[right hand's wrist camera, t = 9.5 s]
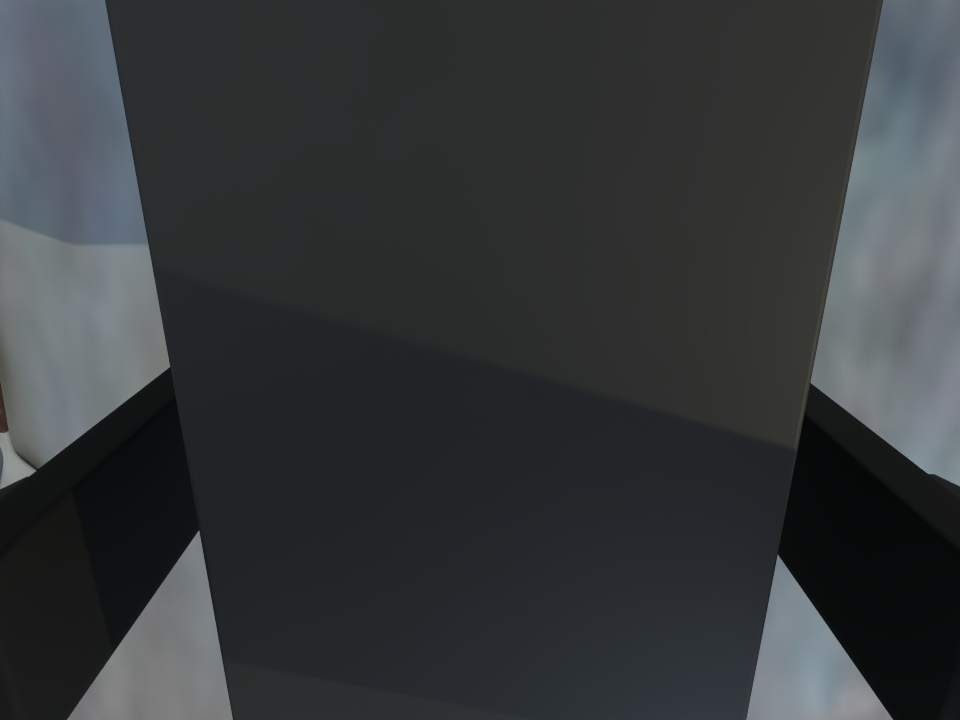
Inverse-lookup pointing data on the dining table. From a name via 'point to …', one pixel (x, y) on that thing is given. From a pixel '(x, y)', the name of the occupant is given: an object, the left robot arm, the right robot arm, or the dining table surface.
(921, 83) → the dining table surface
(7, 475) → the fork
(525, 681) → the bar
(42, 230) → the dining table surface
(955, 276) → the dining table surface
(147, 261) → the dining table surface
